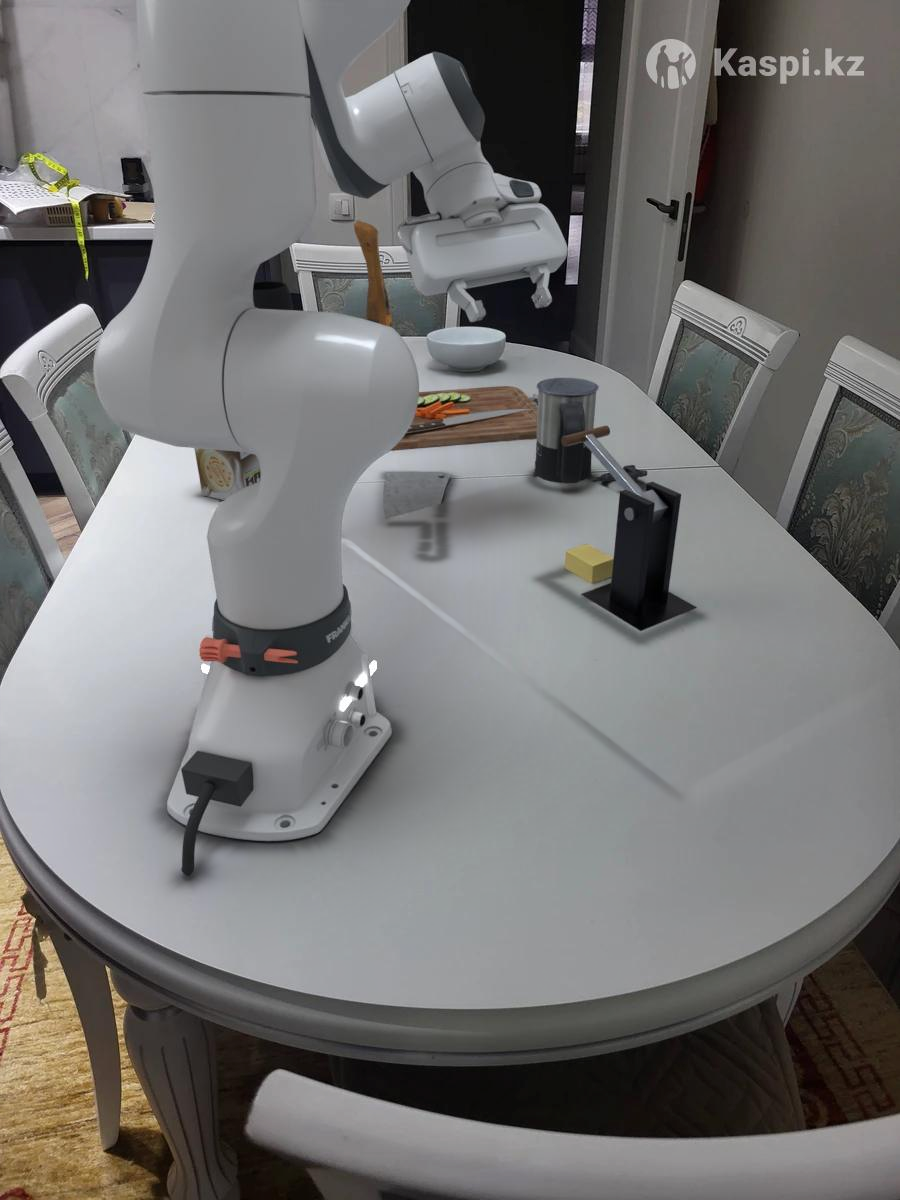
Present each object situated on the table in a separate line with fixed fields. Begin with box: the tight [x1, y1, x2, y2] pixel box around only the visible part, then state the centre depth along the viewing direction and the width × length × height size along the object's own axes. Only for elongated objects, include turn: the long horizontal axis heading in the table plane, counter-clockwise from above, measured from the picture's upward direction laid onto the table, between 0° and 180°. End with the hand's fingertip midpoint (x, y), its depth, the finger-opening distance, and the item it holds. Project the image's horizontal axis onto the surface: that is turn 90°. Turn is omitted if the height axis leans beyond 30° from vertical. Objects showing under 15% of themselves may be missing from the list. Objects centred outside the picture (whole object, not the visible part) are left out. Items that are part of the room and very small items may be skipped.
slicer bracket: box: [580, 481, 698, 632], centre depth 101 cm, size 10×9×15 cm
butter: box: [564, 543, 614, 585], centre depth 109 cm, size 5×4×3 cm
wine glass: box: [253, 280, 294, 310], centre depth 177 cm, size 10×10×20 cm
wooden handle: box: [353, 219, 394, 329], centre depth 198 cm, size 7×19×28 cm, turn 11°
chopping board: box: [390, 385, 538, 451], centre depth 163 cm, size 45×27×3 cm, turn 102°
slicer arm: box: [561, 425, 668, 524], centre depth 100 cm, size 14×6×2 cm, turn 34°
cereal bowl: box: [426, 326, 507, 373], centre depth 192 cm, size 17×17×7 cm
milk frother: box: [532, 377, 648, 484], centre depth 134 cm, size 14×16×15 cm
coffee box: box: [193, 448, 261, 501], centre depth 131 cm, size 9×6×16 cm
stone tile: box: [383, 471, 451, 520], centre depth 128 cm, size 29×1×10 cm
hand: (512, 311), depth 106 cm, fingers open, 8 cm apart
